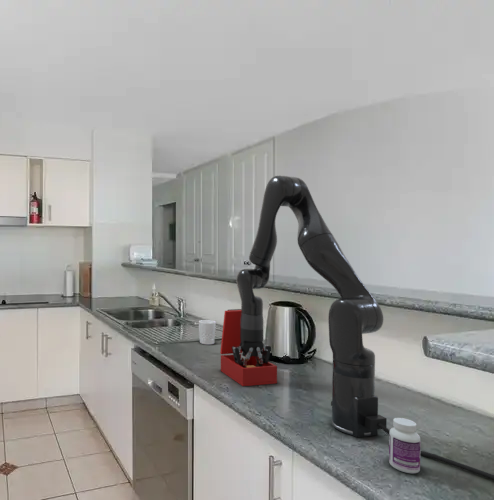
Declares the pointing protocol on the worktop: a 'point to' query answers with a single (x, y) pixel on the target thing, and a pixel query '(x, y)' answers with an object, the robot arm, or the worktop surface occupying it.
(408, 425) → the pill bottle
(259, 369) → the red open box
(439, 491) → the worktop surface
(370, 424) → the robot arm
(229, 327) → the box lid
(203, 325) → the white cup
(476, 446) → the worktop surface
